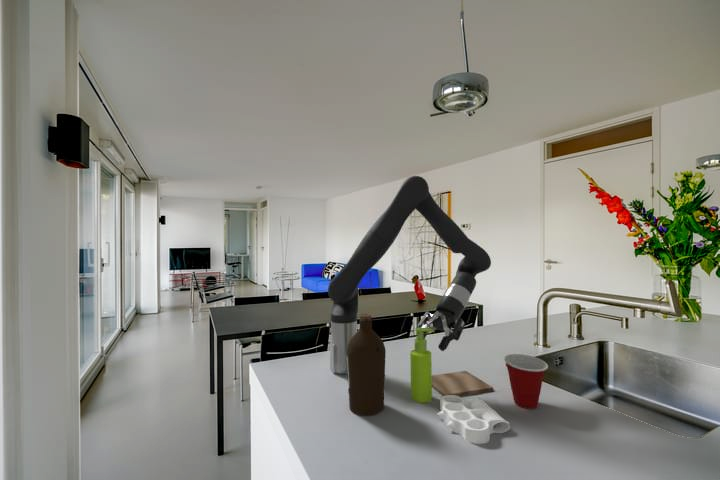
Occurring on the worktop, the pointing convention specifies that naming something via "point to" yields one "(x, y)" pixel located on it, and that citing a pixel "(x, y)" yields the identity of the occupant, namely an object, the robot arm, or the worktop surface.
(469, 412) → the white flat holed block
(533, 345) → the worktop surface
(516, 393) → the plastic cup
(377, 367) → the olive oil
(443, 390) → the soap board
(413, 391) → the soap dispenser
